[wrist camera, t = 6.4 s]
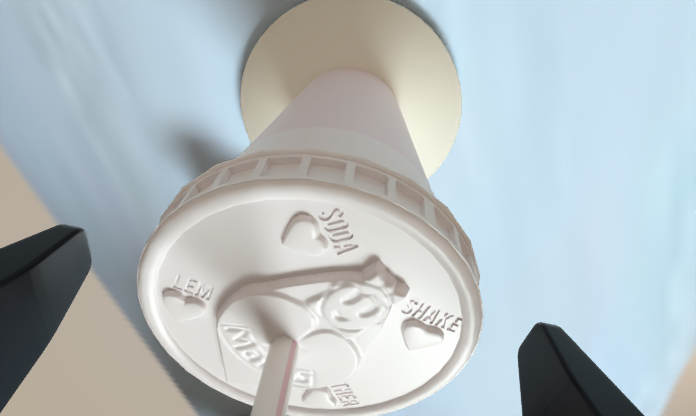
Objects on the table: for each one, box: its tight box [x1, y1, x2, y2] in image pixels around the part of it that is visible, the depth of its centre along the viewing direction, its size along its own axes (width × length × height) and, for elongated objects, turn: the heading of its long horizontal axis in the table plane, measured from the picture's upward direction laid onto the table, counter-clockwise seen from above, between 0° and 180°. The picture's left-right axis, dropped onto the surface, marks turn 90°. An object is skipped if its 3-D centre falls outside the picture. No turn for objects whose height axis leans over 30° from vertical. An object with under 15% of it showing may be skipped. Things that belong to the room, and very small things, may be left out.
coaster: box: [241, 0, 462, 179], centre depth 16 cm, size 8×8×1 cm
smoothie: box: [137, 67, 483, 416], centre depth 10 cm, size 6×6×14 cm
